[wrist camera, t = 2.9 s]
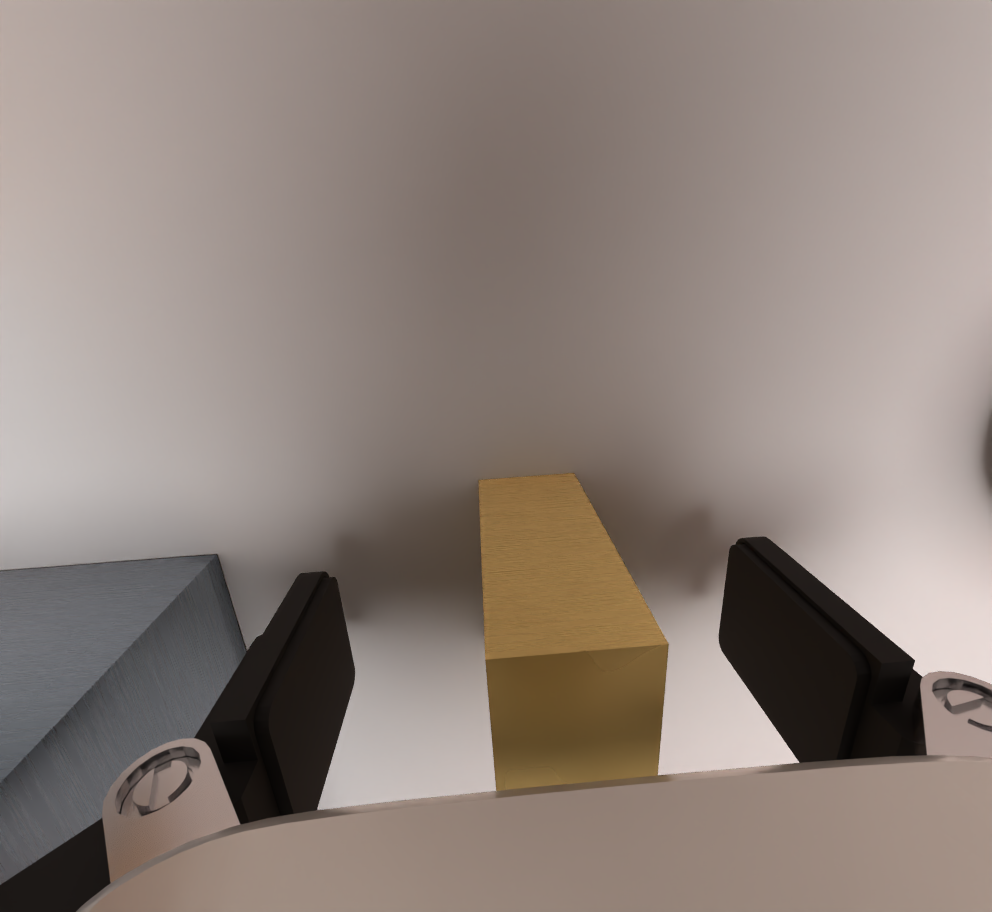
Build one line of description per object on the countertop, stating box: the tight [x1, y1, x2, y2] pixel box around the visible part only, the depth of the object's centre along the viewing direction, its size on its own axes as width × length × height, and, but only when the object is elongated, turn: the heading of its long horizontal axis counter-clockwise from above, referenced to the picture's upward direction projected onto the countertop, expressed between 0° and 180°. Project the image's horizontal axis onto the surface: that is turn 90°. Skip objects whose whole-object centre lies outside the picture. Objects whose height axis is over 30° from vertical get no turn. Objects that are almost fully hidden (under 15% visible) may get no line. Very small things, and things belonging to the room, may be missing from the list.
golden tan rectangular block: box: [478, 473, 669, 791], centre depth 10 cm, size 5×2×6 cm, turn 3°
